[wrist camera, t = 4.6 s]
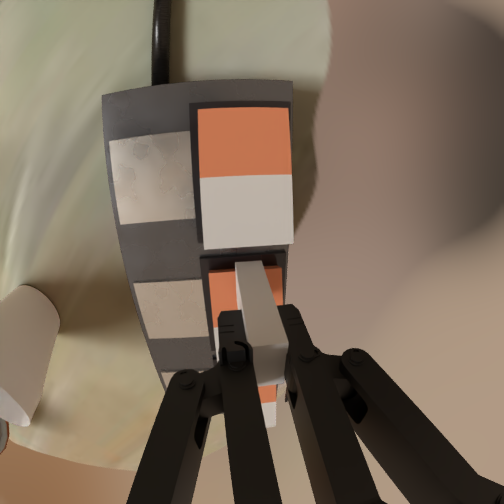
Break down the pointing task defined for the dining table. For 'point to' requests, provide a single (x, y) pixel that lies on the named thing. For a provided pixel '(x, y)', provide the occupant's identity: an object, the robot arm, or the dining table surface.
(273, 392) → the rocker
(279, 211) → the rocker
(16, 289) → the cup
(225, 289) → the rocker
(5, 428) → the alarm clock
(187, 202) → the power strip
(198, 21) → the dining table surface
